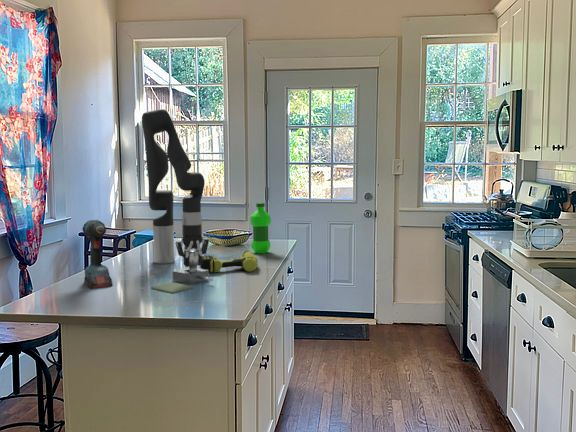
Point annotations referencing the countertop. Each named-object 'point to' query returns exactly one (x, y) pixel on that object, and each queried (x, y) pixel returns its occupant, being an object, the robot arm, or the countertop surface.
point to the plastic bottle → (260, 229)
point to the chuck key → (193, 260)
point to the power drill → (96, 256)
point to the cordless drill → (230, 262)
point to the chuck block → (191, 276)
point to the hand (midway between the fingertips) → (192, 265)
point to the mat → (172, 287)
